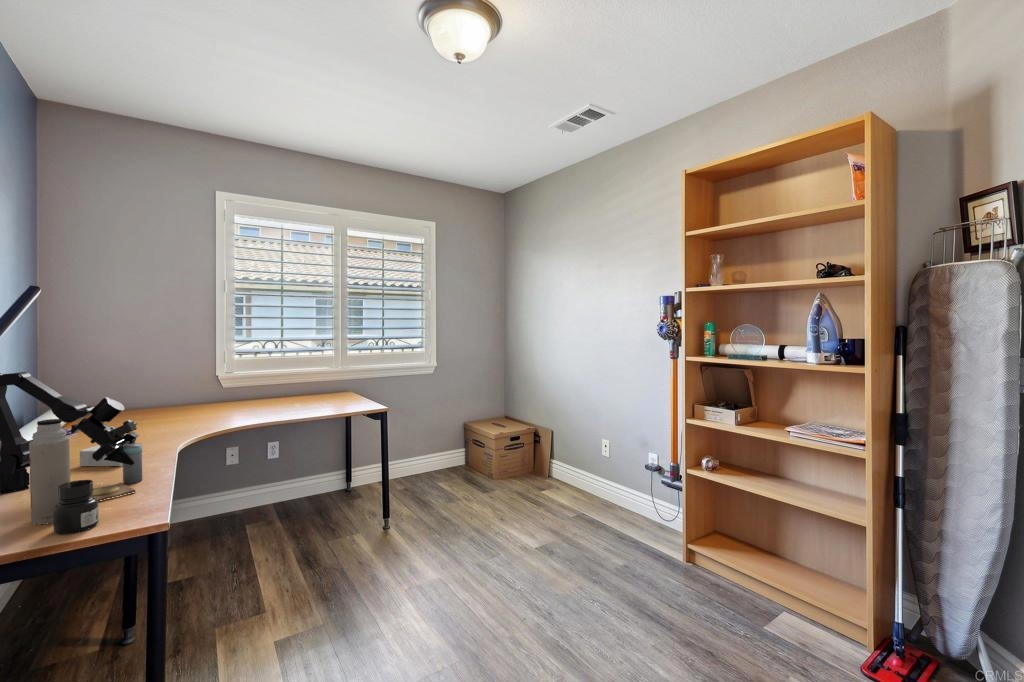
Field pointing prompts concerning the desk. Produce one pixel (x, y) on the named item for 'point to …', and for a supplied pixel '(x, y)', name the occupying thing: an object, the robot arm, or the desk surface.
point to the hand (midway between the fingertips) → (137, 461)
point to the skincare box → (89, 461)
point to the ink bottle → (75, 507)
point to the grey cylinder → (133, 471)
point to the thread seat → (111, 491)
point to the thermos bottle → (47, 468)
